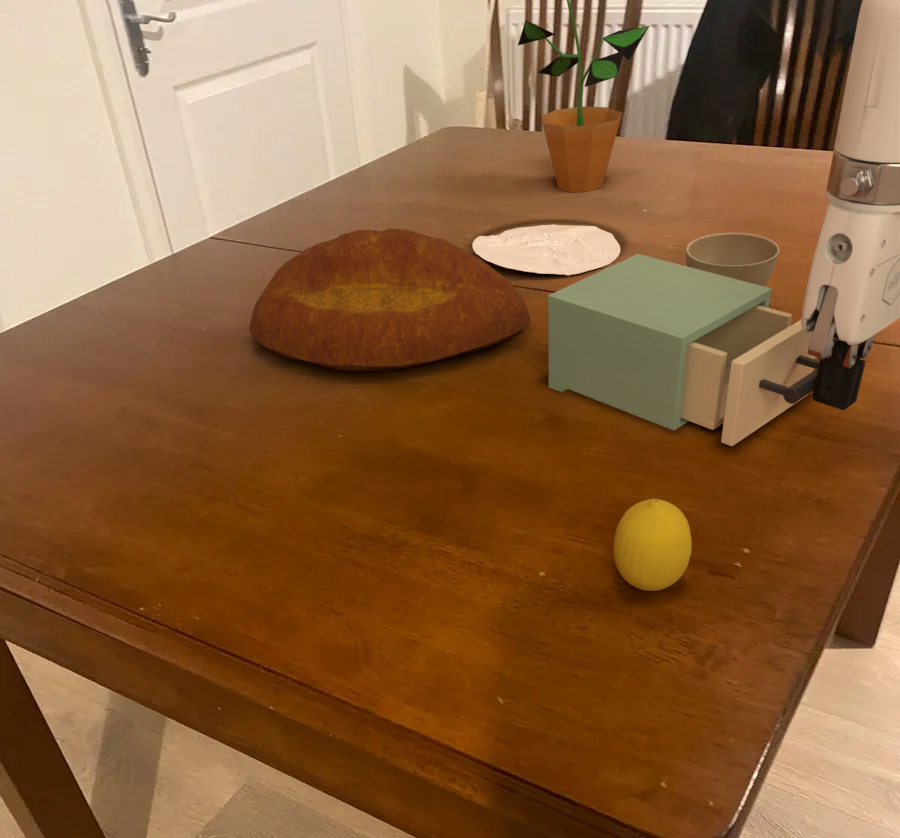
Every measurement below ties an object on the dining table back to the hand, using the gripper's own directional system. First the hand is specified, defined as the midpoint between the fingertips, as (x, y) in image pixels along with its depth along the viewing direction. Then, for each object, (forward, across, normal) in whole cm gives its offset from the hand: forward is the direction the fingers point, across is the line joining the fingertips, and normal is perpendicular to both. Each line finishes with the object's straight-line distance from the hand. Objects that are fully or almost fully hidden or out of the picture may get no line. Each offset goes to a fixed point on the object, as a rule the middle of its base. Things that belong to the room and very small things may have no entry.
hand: (833, 401), depth 79 cm
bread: (+5, -9, +49) cm, 50 cm away
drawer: (+4, 0, +11) cm, 12 cm away
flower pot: (+5, +20, +24) cm, 32 cm away
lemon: (+5, -26, -1) cm, 26 cm away
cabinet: (+5, 0, +19) cm, 20 cm away
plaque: (+5, +23, +54) cm, 59 cm away
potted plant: (+5, +48, +70) cm, 85 cm away
